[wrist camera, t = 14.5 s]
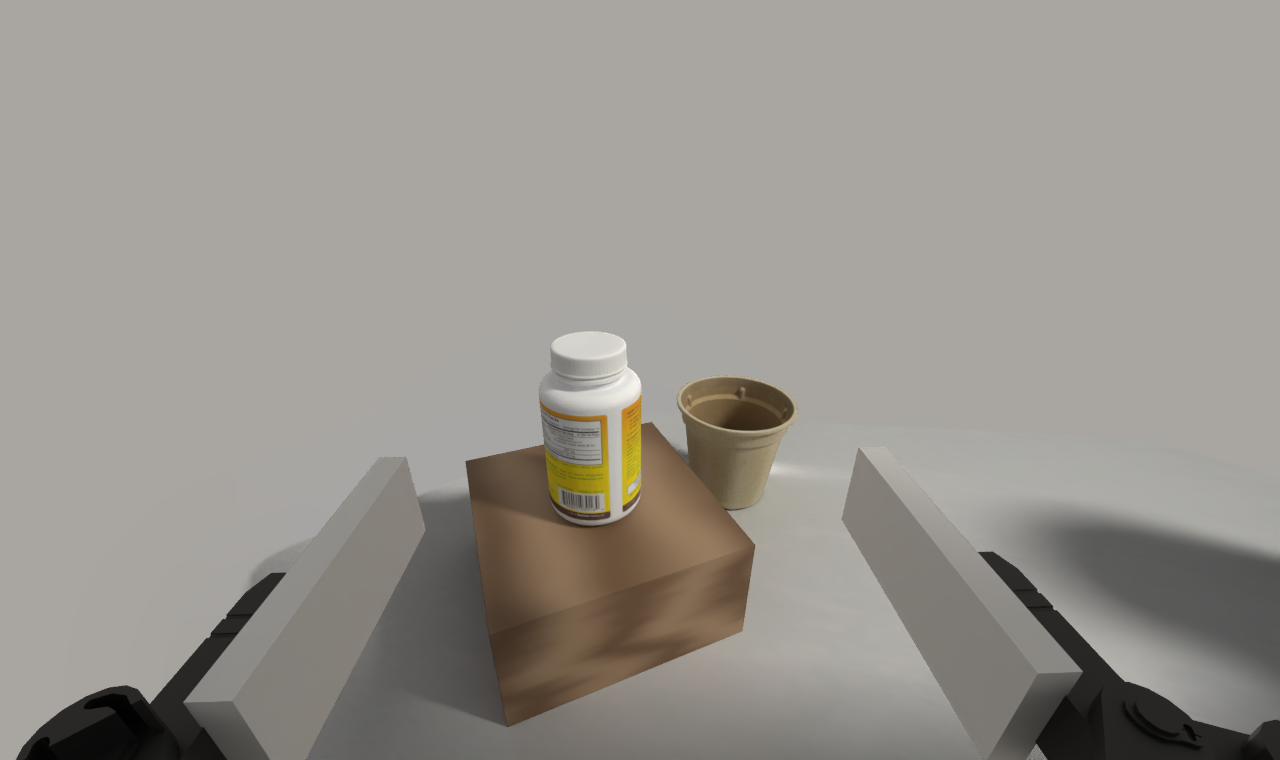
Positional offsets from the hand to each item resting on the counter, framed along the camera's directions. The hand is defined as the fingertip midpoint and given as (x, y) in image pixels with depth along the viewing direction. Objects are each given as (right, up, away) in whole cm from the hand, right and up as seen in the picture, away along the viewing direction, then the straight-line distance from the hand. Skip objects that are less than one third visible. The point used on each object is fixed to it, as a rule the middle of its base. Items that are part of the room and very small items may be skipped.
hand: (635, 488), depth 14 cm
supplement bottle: (-3, -4, +15) cm, 16 cm away
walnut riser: (-3, -10, +18) cm, 21 cm away
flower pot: (+8, -6, +27) cm, 29 cm away
